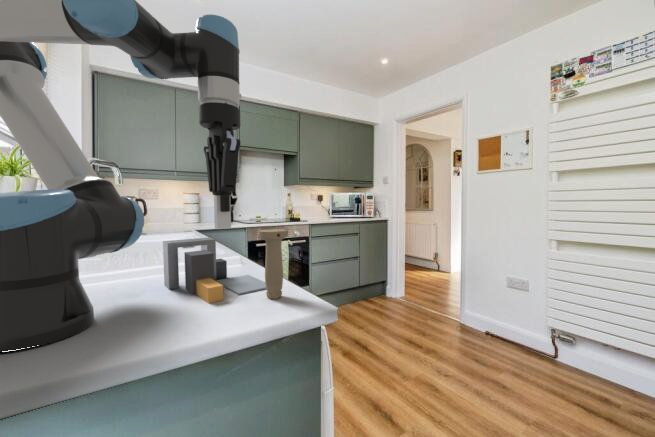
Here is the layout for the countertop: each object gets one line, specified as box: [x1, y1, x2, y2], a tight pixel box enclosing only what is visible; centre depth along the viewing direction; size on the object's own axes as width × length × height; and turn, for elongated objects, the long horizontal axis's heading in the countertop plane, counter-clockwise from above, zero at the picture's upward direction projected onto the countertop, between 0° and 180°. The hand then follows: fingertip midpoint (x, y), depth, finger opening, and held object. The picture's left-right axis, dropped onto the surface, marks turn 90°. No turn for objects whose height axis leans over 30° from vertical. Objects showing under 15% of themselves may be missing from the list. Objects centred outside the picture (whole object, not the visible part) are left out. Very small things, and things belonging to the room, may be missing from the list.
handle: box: [258, 228, 289, 300], centre depth 67 cm, size 5×6×15 cm
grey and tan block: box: [184, 250, 224, 304], centre depth 70 cm, size 15×5×9 cm, turn 40°
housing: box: [162, 237, 228, 291], centre depth 79 cm, size 14×5×11 cm, turn 130°
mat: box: [216, 274, 266, 296], centre depth 77 cm, size 9×14×1 cm, turn 40°
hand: (222, 228), depth 59 cm, fingers closed
